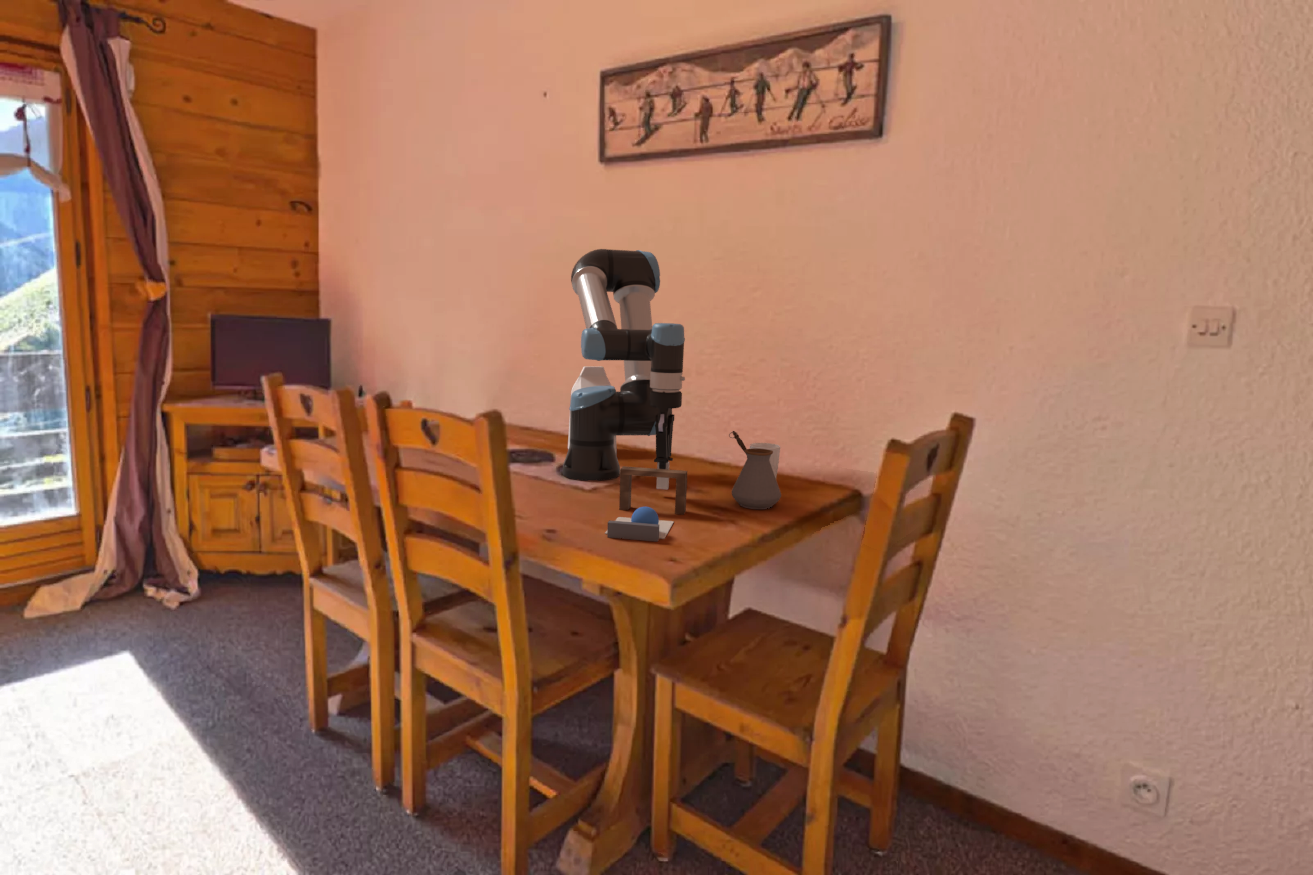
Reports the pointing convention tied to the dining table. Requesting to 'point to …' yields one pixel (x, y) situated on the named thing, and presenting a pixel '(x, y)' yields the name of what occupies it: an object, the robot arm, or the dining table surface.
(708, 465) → the dining table surface
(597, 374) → the milk
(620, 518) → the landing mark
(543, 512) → the dining table surface
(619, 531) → the stopper wall
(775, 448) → the white cup
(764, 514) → the dining table surface
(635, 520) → the ball
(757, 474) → the coffee pot
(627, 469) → the bridge
